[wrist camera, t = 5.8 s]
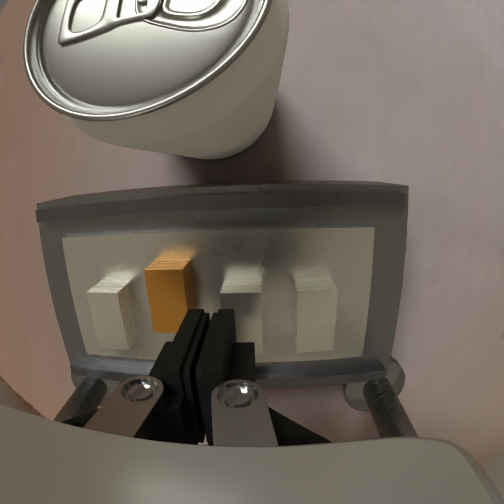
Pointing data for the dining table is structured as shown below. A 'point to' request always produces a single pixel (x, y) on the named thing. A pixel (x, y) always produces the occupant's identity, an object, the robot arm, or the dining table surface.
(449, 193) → the dining table surface
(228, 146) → the can
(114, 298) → the breaker panel
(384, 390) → the cord stand
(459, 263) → the dining table surface
